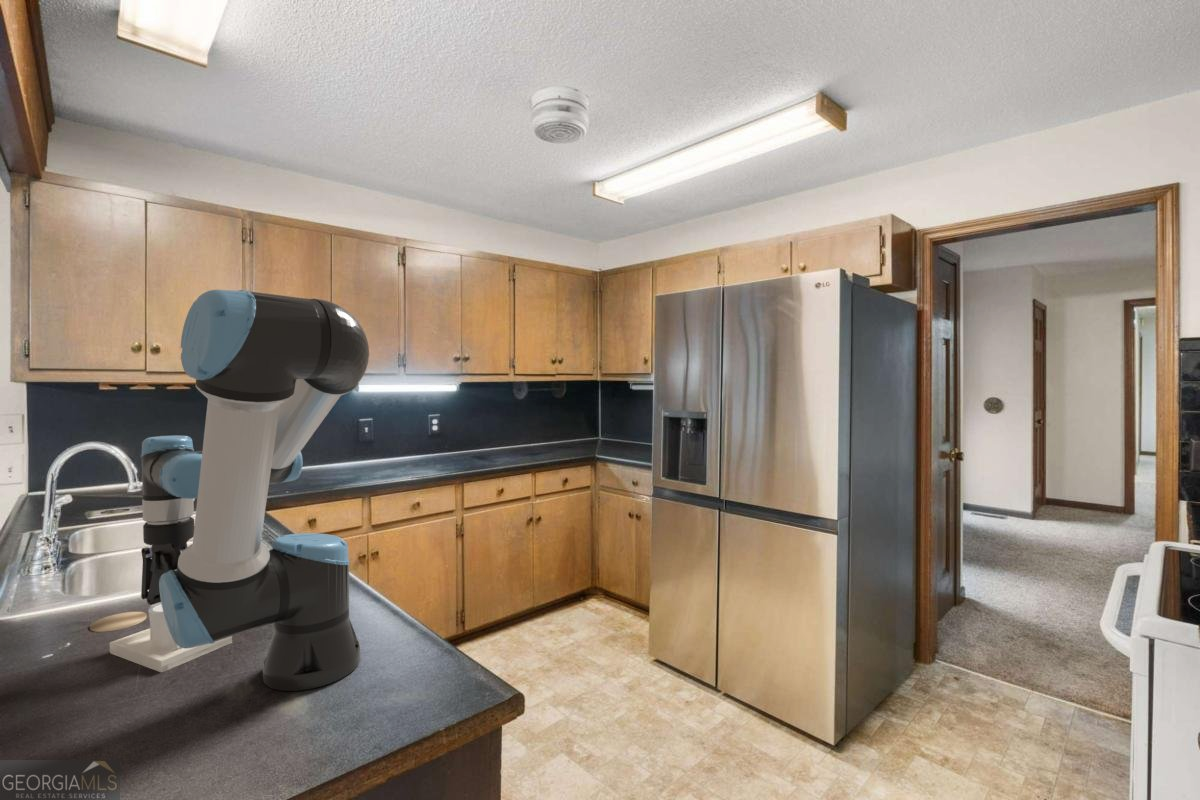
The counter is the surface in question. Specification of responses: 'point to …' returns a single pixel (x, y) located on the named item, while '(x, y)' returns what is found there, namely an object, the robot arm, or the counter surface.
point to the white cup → (160, 629)
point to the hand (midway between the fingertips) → (171, 640)
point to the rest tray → (159, 651)
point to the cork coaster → (118, 621)
